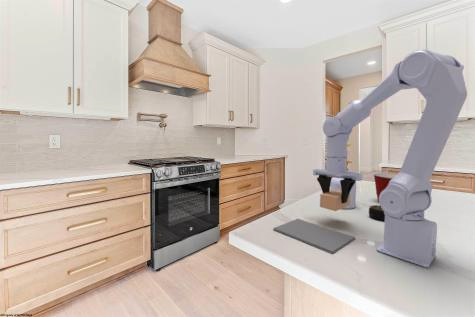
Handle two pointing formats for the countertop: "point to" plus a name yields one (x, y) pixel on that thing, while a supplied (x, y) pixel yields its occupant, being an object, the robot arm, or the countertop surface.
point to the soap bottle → (337, 186)
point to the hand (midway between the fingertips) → (335, 200)
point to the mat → (315, 235)
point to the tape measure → (376, 212)
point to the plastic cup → (382, 182)
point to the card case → (333, 200)
